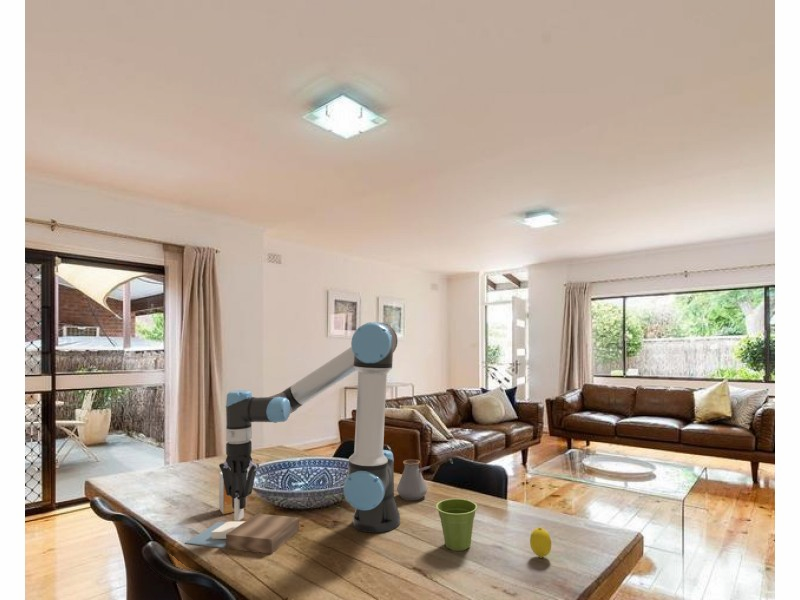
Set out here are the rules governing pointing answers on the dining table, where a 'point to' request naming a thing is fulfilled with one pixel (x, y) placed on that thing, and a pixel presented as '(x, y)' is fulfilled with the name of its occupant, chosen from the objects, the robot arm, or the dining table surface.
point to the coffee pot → (414, 480)
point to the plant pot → (457, 522)
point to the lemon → (540, 542)
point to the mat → (208, 538)
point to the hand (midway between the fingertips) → (239, 518)
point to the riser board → (262, 533)
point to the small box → (224, 498)
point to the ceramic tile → (225, 529)
